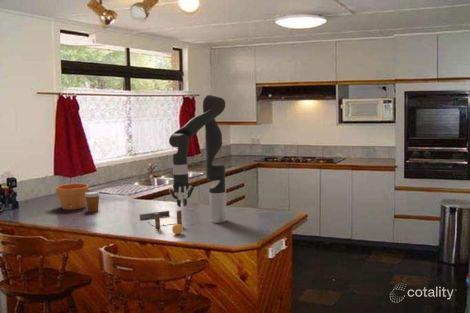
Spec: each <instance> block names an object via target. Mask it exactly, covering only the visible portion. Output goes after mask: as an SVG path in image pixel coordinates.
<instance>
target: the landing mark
mask: <svg viewBox="0 0 470 313" xmlns="http://www.w3.org/2000/svg"><path fill="white" fill-rule="evenodd" d="M163 219H164V220H163V221H164V222H163V221H162V222H163V223H164V225H163V223H162V225H163V226H169V224H171V225H175V224H176V223H177V221H174V220H173V219H171V218H170V217H169V218H163Z"/></svg>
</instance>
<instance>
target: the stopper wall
mask: <svg viewBox="0 0 470 313" xmlns="http://www.w3.org/2000/svg"><path fill="white" fill-rule="evenodd" d="M155 213H159V215H160V218H163V217H162V216H166V217H170V211H169V210H163V211H154V212H145V213H139V220H140V219H142V220H147V219H146V218H150V219H153V218H152V217H155Z"/></svg>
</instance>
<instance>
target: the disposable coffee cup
mask: <svg viewBox="0 0 470 313" xmlns="http://www.w3.org/2000/svg"><path fill="white" fill-rule="evenodd" d="M85 197H86V201H85V203H86V207H87V211H88V212H89V213H90V212H91V213H92V212H98V211H99V202H100V201H99V200H100V191H96V190H95V191H88V192H86V193H85Z"/></svg>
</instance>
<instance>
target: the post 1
mask: <svg viewBox="0 0 470 313" xmlns="http://www.w3.org/2000/svg"><path fill="white" fill-rule="evenodd" d="M154 220H155V227H154V228H155V229H160V230H161V226H160V220H161V217H160V215H159V213H155V218H154ZM155 229H154V230H155Z"/></svg>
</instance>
